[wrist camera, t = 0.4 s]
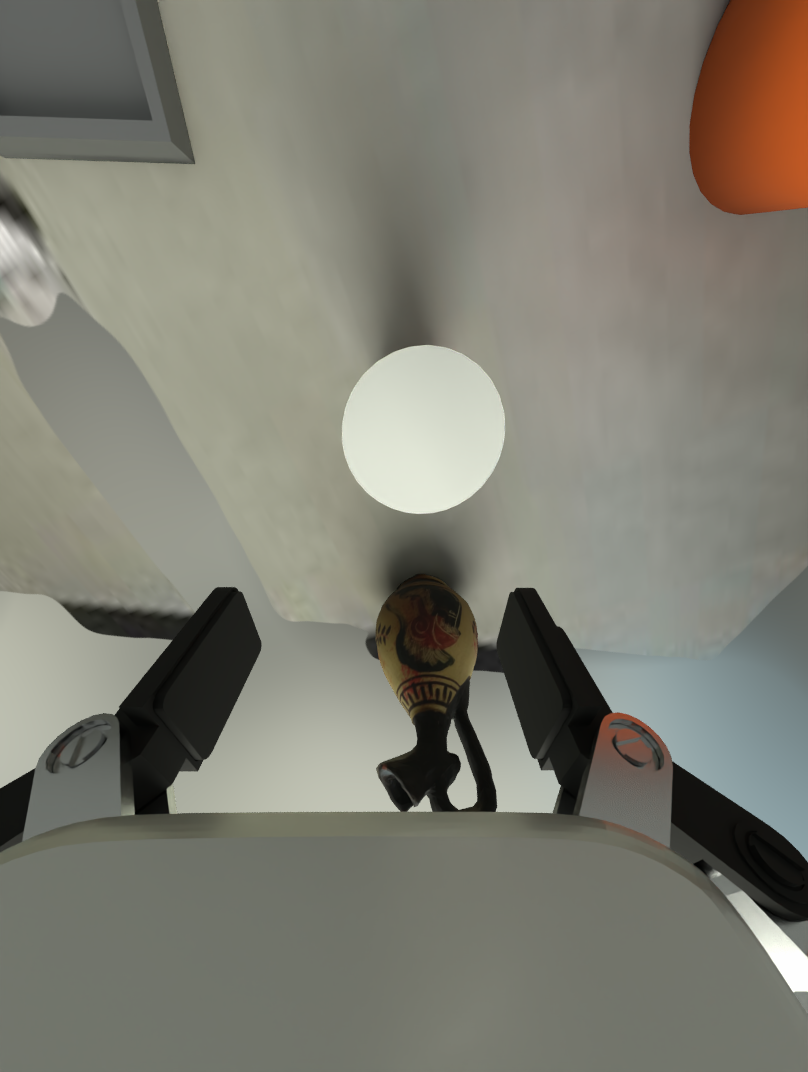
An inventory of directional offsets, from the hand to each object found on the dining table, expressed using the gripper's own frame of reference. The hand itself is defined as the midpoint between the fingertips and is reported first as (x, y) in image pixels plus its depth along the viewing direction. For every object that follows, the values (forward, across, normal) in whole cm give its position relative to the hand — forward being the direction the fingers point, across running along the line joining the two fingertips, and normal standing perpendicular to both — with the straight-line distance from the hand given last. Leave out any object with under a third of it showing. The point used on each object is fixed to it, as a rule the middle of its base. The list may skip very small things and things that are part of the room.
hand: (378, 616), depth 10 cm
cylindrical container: (+31, -2, -5) cm, 31 cm away
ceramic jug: (+31, -5, +28) cm, 42 cm away
